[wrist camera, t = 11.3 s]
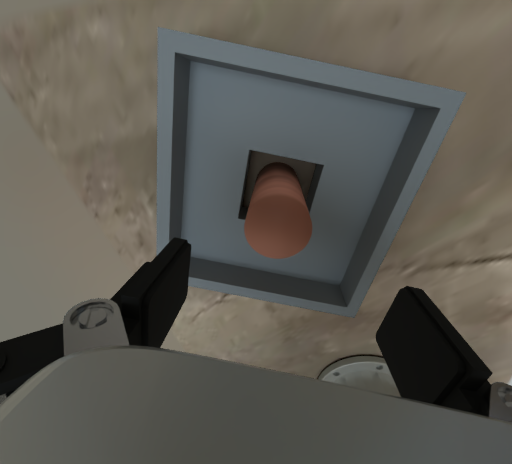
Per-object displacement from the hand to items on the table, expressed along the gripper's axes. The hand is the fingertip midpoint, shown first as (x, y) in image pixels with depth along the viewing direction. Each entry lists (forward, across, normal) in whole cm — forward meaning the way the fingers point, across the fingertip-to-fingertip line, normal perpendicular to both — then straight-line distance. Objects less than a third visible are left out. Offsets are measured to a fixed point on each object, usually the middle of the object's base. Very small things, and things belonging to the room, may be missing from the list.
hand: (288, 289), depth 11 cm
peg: (+14, +1, -1) cm, 14 cm away
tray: (+14, +1, -1) cm, 14 cm away
